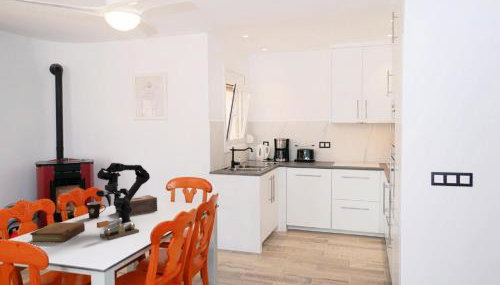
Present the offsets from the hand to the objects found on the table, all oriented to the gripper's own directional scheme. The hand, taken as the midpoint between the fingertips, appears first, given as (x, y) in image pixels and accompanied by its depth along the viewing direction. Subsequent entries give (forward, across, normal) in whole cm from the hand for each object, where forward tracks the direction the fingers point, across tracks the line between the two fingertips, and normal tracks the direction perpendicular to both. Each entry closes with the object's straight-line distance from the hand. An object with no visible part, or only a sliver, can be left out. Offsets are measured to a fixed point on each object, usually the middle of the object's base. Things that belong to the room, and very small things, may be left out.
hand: (111, 206), depth 232 cm
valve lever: (+15, +5, -16) cm, 23 cm away
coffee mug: (0, -21, +30) cm, 37 cm away
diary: (+18, -26, -10) cm, 33 cm away
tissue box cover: (-5, +3, +45) cm, 46 cm away
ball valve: (+19, +8, -9) cm, 23 cm away
